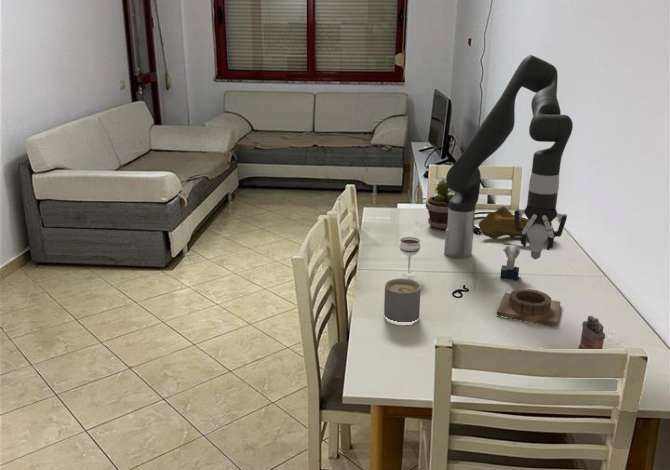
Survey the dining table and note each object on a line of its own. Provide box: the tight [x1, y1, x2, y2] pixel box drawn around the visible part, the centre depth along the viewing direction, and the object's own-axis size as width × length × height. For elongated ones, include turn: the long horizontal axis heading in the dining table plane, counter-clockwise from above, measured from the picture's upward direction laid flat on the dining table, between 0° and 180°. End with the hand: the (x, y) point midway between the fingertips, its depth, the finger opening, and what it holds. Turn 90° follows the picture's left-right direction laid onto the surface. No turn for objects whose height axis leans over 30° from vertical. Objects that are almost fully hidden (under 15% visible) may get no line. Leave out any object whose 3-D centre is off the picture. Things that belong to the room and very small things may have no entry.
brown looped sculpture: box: [478, 205, 548, 241], centre depth 229 cm, size 18×13×22 cm
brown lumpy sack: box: [578, 315, 606, 350], centre depth 147 cm, size 8×3×10 cm, turn 5°
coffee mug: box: [383, 277, 422, 322], centre depth 168 cm, size 13×10×10 cm
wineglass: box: [399, 236, 421, 273], centre depth 196 cm, size 7×7×12 cm
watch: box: [499, 244, 521, 282], centre depth 193 cm, size 6×8×11 cm
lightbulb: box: [527, 224, 549, 260], centre depth 165 cm, size 6×6×11 cm
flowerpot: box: [425, 177, 455, 231], centre depth 241 cm, size 14×15×20 cm
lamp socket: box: [496, 288, 561, 328], centre depth 171 cm, size 16×14×4 cm
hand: (536, 247), depth 165 cm, fingers closed on lightbulb, 5 cm apart
